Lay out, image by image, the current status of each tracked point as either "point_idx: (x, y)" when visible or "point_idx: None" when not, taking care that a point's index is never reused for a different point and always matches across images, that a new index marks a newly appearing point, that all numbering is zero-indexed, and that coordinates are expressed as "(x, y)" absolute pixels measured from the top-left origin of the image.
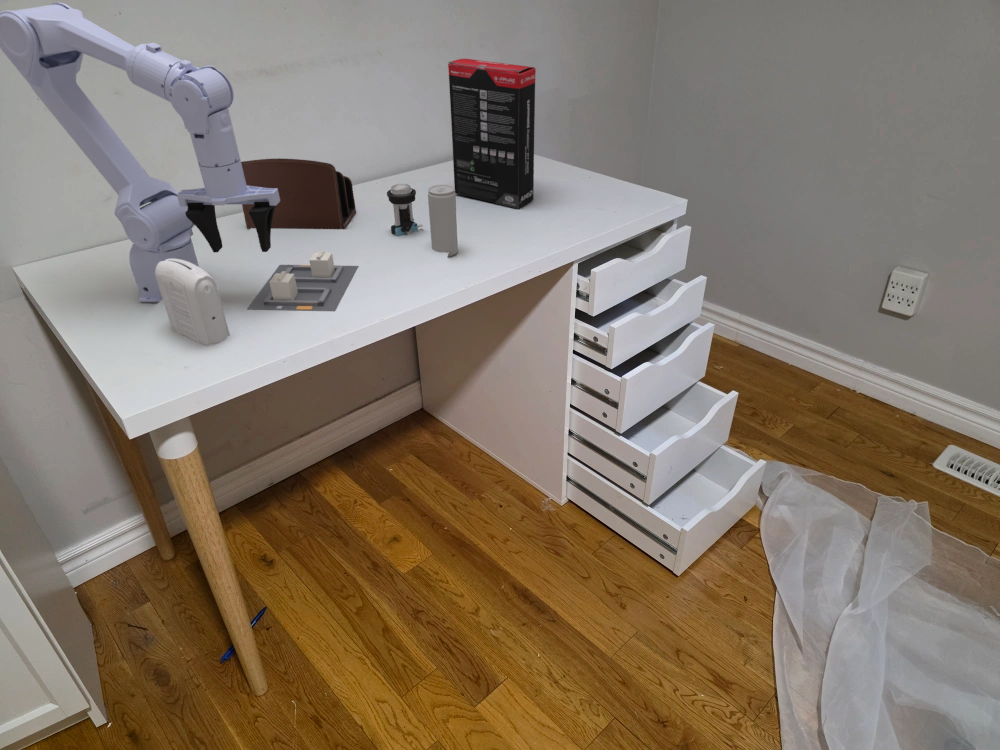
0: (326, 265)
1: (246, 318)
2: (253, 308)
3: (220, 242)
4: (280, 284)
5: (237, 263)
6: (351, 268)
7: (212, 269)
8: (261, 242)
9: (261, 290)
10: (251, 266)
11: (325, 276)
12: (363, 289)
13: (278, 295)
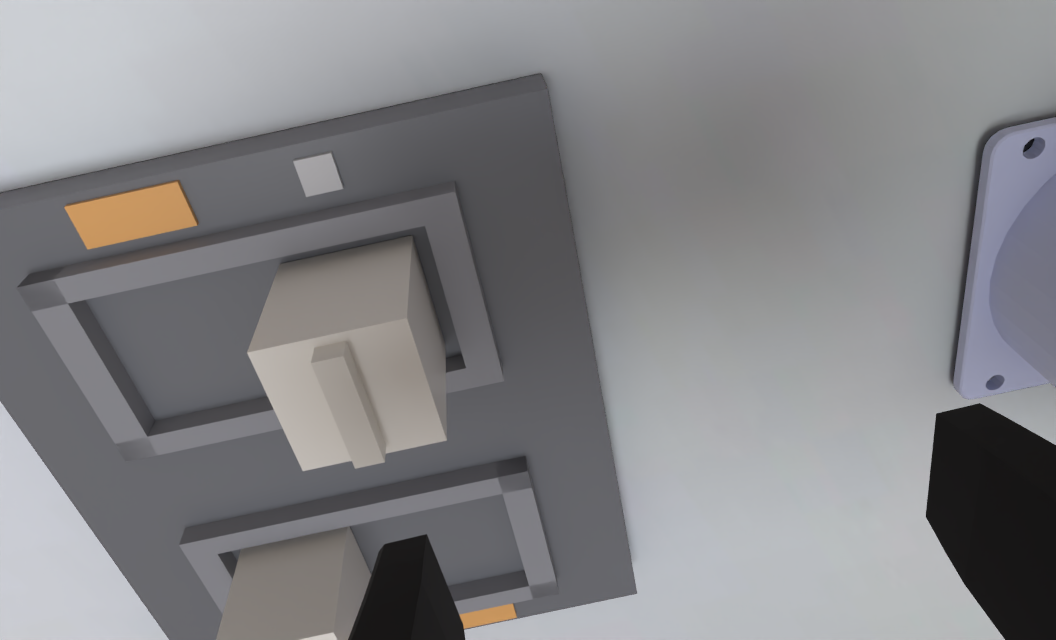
0: (229, 622)
1: (537, 41)
2: (502, 114)
3: (962, 551)
4: (320, 326)
5: (894, 562)
6: None
7: None
8: (384, 632)
9: (586, 342)
10: (808, 558)
11: (264, 555)
12: (49, 530)
13: (363, 268)
